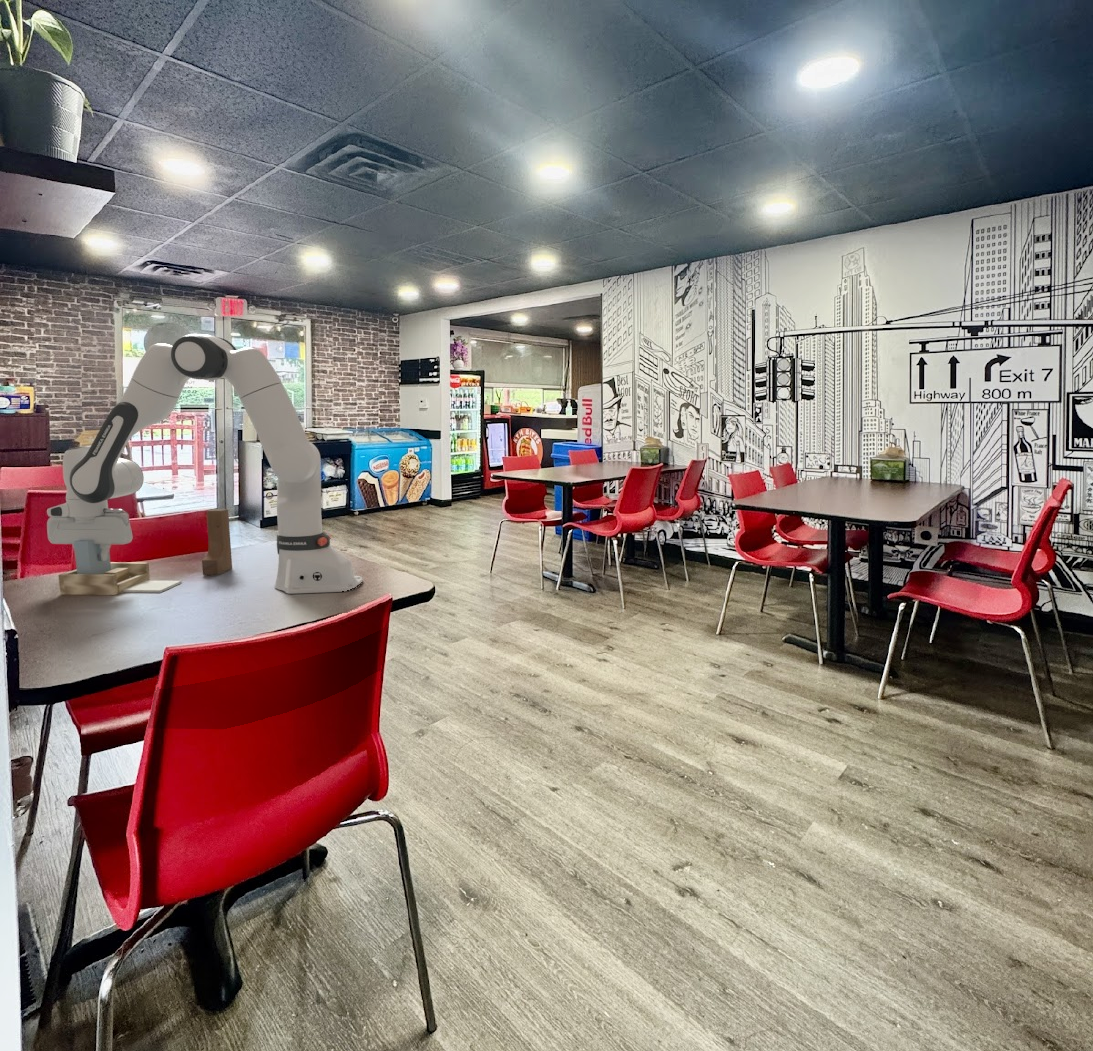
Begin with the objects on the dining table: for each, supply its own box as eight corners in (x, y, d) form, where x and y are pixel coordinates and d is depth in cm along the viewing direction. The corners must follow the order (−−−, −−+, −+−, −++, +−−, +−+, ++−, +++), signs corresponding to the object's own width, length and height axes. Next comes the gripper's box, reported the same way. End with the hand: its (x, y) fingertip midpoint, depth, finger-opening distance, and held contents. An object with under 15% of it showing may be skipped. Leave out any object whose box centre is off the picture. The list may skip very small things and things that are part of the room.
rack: (151, 580, 185) (149, 562, 184) (116, 594, 170) (114, 575, 169) (99, 579, 185) (98, 562, 184) (60, 594, 170) (58, 575, 169)
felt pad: (181, 582, 182) (181, 580, 182) (160, 592, 172) (160, 590, 172) (145, 582, 182) (144, 580, 182) (121, 592, 172) (121, 589, 172)
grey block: (112, 583, 181) (107, 535, 179) (92, 590, 173) (87, 541, 171) (99, 583, 181) (94, 535, 179) (79, 590, 173) (73, 541, 171)
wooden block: (218, 575, 190) (213, 513, 187) (202, 575, 190) (197, 513, 187) (232, 568, 199) (228, 508, 196) (217, 568, 199) (213, 508, 196)
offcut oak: (129, 577, 180) (128, 567, 179) (116, 581, 174) (115, 572, 174) (118, 576, 180) (117, 567, 179) (104, 581, 174) (104, 572, 174)
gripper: (135, 507, 177) (140, 558, 179) (58, 506, 177) (63, 557, 179) (120, 510, 171) (125, 563, 173) (40, 509, 171) (46, 562, 173)
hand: (93, 560), depth 176 cm, fingers closed on grey block, 3 cm apart
